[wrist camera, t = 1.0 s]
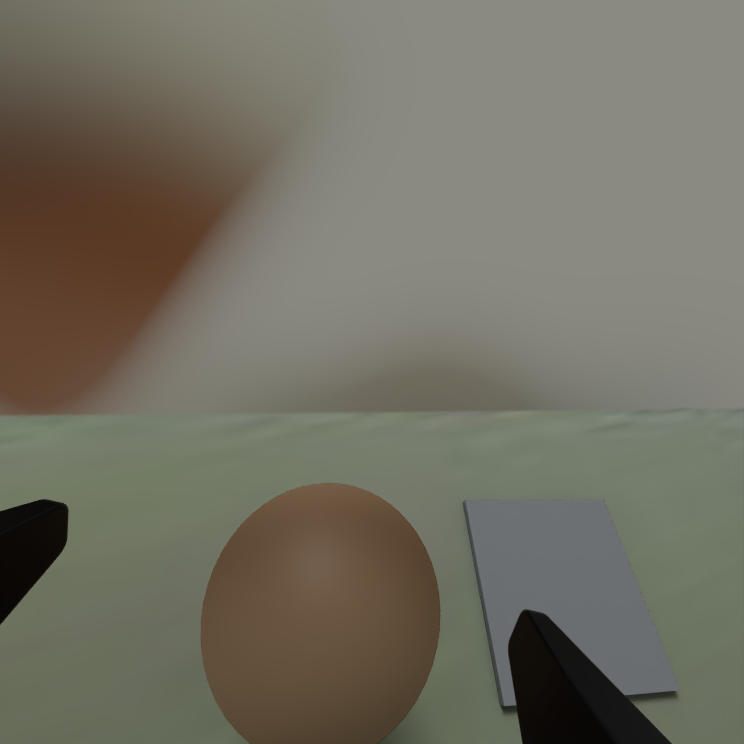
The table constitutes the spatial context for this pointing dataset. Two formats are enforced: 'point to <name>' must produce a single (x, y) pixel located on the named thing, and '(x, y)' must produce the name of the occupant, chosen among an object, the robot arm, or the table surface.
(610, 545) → the slate mat
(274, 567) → the walnut cylinder
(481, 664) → the table surface
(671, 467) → the table surface
